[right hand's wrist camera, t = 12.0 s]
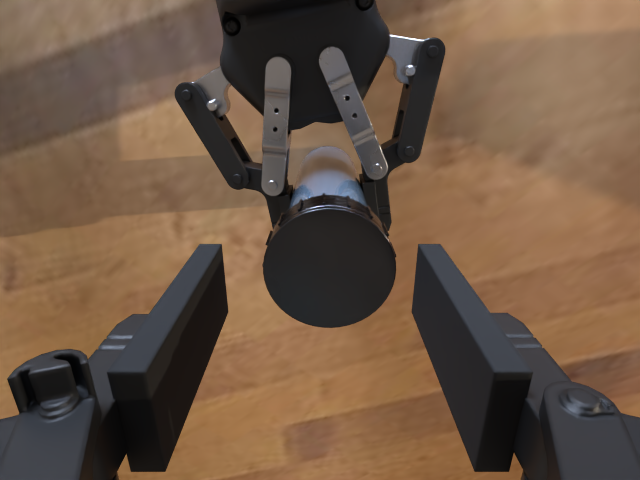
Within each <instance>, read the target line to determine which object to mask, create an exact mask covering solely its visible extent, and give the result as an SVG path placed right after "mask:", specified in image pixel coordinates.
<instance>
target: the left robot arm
mask: <svg viewBox="0 0 640 480" xmlns="http://www.w3.org/2000/svg"><path fill="white" fill-rule="evenodd" d="M216 3H217V7H218V12H219V16H220V21H221V25H222V29H223V48H222V52H221V56H220V67H218V68H216V69H215V70H213V71H211V72H210V73H208V74H206V75H205V76H203V77H201V78H200V79H198V80H196V81H195V82H184V83H181V84H179V85H178V86H177V87H176V90H175V98H176V100H177V102H178V104H179V105H180V107H181V109H182V110H183V112H184V113H185V115H186V117H187V118H188V120H189V121H190V123H191V125H192V126H193V128H194V130H195V131H196V133H197V134H198V136H199V138H200V139H201V141H202V142H203V144H204V146H205V147H206V149H207V150H208V152H209V154H210V155H211V157H212V159H213V160H214V162H215V163H216V165H217V167H218V168H219V170H220V171H221V173H222V175H223V176H224V178H225V180H226V181H227V183H228V184H229V186H230V187H232V188H234V189H237V190H240V189H243V188H246V189H252V190H256V191H259V192H261V193H262V194H263V195H264V196H265V198H266V200H267V204H268V209H269V213H270V218H271V222H272V227H273V229H274V227H275V225H276V224H277V222H278V220H279V219H280V216H281V213H282V212H283V213H285V212H286V211H287V210H288V209H289V206H290V202H291V199H292V195H293V191H294V190H293V185H288V180H287V177H288V164H289V152H290V144H291V134H292V130H295V129H301V128H303V127H305V126H307V125H309V124H311V123H314V122H322V123H336V122H342V121H344V123H345V126H346V128H347V130H348V133H349V135H350V137H351V140H352V142H353V144H354V147H355V149H356V151H357V154H358V156H359V158H360V161H361V166H362V174H359V177H360V184H361V188H362V191H363V194H364V197H365V200H366V203H367V206H370V208H371V211H372V212H373V213H374V214H375V215H376V216H377V217H378V218H379V220H380V221H381V223H382V222H384V223H385V226H386V228H387V231H389V229H390V225H391V213H390V204H389V194H388V185H387V178H388V175H389V173H390V172H391V171H392V170H393V169H394V168H396V167H398V166H400V165H402V164H403V163H405V162H406V163H411V162H414V161H415V160H417V159H418V157H419V156H420V153H421V149H422V145H423V140H424V136H425V132H426V128H427V124H428V120H429V116H430V112H431V108H432V104H433V100H434V96H435V92H436V88H437V84H438V79H439V75H440V71H441V67H442V63H443V59H444V55H445V46H444V43H443V42H442V41H441V40H440V39H438V38H428V39H425V40H417V39H412V38H406V37H400V36H394V35H390V34H389V30H388V28H387V26H386V24H385V23H384V21H383V20H382V18H381V16H380V14H379V12H378V9H377V6H376V1H375V0H216ZM385 56H386V57H388V58H390V59H391V61H392V62H393V65H394V77H395V79H396V80H397V81H398V82H400V83H403V89H402V93H401V98H400V103H399V107H398V112H397V116H396V121H395V126H394V130H393V135H392V139H391V140H389V141H387V142H385V143H383V144H382V145H379V143H378V140H377V138H376V135H375V132H374V129H373V127H372V124H371V122H370V119H369V117H368V114H367V112H366V109H365V107H364V104H363V102H362V101H363V99H364V97H365V95H366V93H367V91H368V89H369V87H370V85H371V83H372V82H373V80H374V78H375V76H376V74H377V72H378V70H379V68H380V66H381V64H382V62H383V60H384V58H385ZM231 85H232V86H233V87H234V88H235V89H236V90H237V91H238V92H239V93H240V94H241V95H242V96H243V97H244V98H245V99H246V100H247V101H248V102H249V103H250V104H251V105H252V106H253V107H255V108H256V109H257V110H258V111H259V112H260V113H261V114H262V115H263V116H264V122H263V141H262V151H263V164H260V163H254V162H253V161H252V159H251V158H250V156H249V154H248V153H247V151H246V149H245V147H244V146H243V144H242V142H241V141H240V139H239V137H238V136H237V134H236V132H235V130H234V129H233V127H232V125H231V124H230V122H229V120H228V118H227V117H226V115H225V114H227V113H228V112H229V110H230V106H231V104H230V100H229V98H228V89H229V87H230V86H231Z"/></svg>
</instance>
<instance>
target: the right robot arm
mask: <svg viewBox="0 0 640 480" xmlns="http://www.w3.org/2000/svg"><path fill="white" fill-rule="evenodd" d="M227 314H228V304H227V294H226V284H225V274H224V263H223V253H222V244H200V245H199V246H198V247H197V249H196V250H195V251H194V253H193V254H192V256H191V257H190V258H189V260H188V261H187V262H186V264H185V265H184V267H183V268H182V269H181V271H180V272H179V273H178V275H177V276H176V278H175V279H174V280H173V282H172V283H171V284H170V286H169V287H168V288H167V290H166V291H165V293H164V294H163V295H162V297H161V298H160V299H159V301H158V302H157V304H156V305H155V306H154V308H153V309H152V310H151V312H150V313H149V314H132V315H131V316H129V317H128V318H126V319H125V320H123V321H122V322H120V323H119V324H117V325H116V326H115V328H114V329H113V330H112V331H111V332H110V334H109V335H108V336H107V339H105V340H104V341H103V342H102V343H101V345H100V346H99V348H98V350H96V351H95V352H94V353H93V354H92V355H91V357H90V358H89V359H87V356H86V355H85V354H84V353H83V352H81V351H78V350H73V349H65V350H55V351H52V352H48V353H45V354H41V355H39V356H37V357H35V358H33V359H30V360H28V361H26V362H25V363H23V364H22V365H21V366H19V367H18V368H16V369H15V370H14V371H13V372H12V374H11V375H10V376H9V377H8V378H7V380H8V383H9V385H10V388H11V391H12V394H13V396H14V399H15V402H16V405H17V408H18V410H19V415H17V416H13V417H9V418H4V419H0V480H119V477H118V473H117V471H118V469H119V467H120V465H121V463H122V461H123V459H124V457H125V455H126V453H127V457H128V461H129V466H130V470H131V472H165V471H166V469H167V466H168V464H169V461H170V459H171V456H172V453H173V451H174V448H175V446H176V443H177V441H178V438H179V436H180V433H181V431H182V428H183V426H184V423H185V420H186V418H187V415H188V413H189V410H190V408H191V405H192V403H193V400H194V398H195V395H196V393H197V390H198V387H199V385H200V382H201V380H202V377H203V375H204V372H205V370H206V367H207V365H208V362H209V360H210V357H211V354H212V352H213V349H214V347H215V344H216V342H217V339H218V337H219V334H220V332H221V329H222V327H223V324H224V321H225V319H226V316H227ZM412 314H413V316H414V319H415V321H416V324H417V327H418V329H419V332H420V334H421V337H422V339H423V342H424V344H425V347H426V349H427V352H428V354H429V357H430V360H431V362H432V365H433V367H434V370H435V372H436V375H437V377H438V380H439V382H440V385H441V387H442V390H443V393H444V395H445V398H446V400H447V403H448V405H449V408H450V410H451V413H452V415H453V418H454V420H455V423H456V426H457V428H458V431H459V433H460V436H461V438H462V441H463V443H464V446H465V448H466V451H467V453H468V456H469V459H470V461H471V464H472V466H473V469H474V471H475V472H509V470H510V466H511V461H512V457H513V453H515V455H516V457H517V459H518V461H519V463H520V465H521V467H522V468H523V473H522V477H521V480H640V418H639V417H635V416H630V415H626V414H623V413H620V411H619V410H618V408H617V407H616V406H615V404H614V403H613V402H612V401H611V400H609V399H608V398H607V397H606V396H605V395H603V394H602V393H600V392H598V391H596V390H594V389H592V388H590V387H589V386H585V385H582V384H579V383H576V382H572V381H571V380H570V379H569V378H568V376H567V375H566V374H565V373H564V372H563V370H562V369H561V368H560V367H559V366H558V364H557V363H556V362H555V361H554V360H553V358H552V357H551V356H550V355H549V354H548V352H547V351H546V350H545V349H544V348H542V345H541V344H540V343H539V342H538V340H537V339H536V338H534V337H533V334H532V333H531V332H530V331H529V330H528V328H527V327H526V326H525V325H524V324H523V323H522V322H521V321H519V320H517V319H516V318H514V317H513V316H511V315H510V314H508V313H490V312H489V310H488V309H487V308H486V306H485V305H484V304H483V302H482V301H481V299H480V298H479V297H478V295H477V294H476V293H475V291H474V290H473V289H472V287H471V286H470V284H469V283H468V282H467V280H466V279H465V278H464V276H463V275H462V273H461V272H460V271H459V269H458V268H457V267H456V265H455V264H454V262H453V261H452V260H451V258H450V257H449V256H448V254H447V253H446V251H445V250H444V249H443V247H442V246H441V245H440V244H418V253H417V263H416V274H415V284H414V294H413V304H412Z"/></svg>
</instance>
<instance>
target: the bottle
mask: <svg viewBox="0 0 640 480" xmlns="http://www.w3.org/2000/svg"><path fill="white" fill-rule="evenodd" d="M322 193H325V195H338V196H344V197H346V195H348V196H349V197H350V198H351V199H353V200H356V201H358V202H360V203H362V204H363V205H365V206H366V207H367V203H366V200H365V197H364V194H363V191H362V188H361V184H360V181H359V178H358V175H357V172H356V169H355V166H354V163H353V161H352V159H351V158H350V157H349V155H348V154H347V153H345V152H344V151H343V150H341V149H339V148H336V147H331V146H324V147H319V148H317V149H314V150H313V151H311V152H310V153H309V154H308V155H307V156H306V157H305V158H304V160H303V161H302V164H301V166H300V170H299V173H298V177H297V181H296V184H295V188H294V191H293V195H292V199H291V202H290V206H289V209H290V208H291V207H292V206H294V205H295V204H297V203H299V200H300V199H302V200H305V199H308V198H311V197H315V196H320V195H322Z"/></svg>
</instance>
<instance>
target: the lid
mask: <svg viewBox="0 0 640 480" xmlns="http://www.w3.org/2000/svg"><path fill="white" fill-rule="evenodd" d="M388 236H389V233H388V231H387V228H386V226H385V223H384V222H382V223H381V221H380V220H379V218H378V217H377V216H376V215H375V214H374V213H373V212H372V211H371V208H370V206H367V207H366V206H365V205H363V204H362V203H360V202H358V201H356V200H353V199H351V198H350V197H349V196H348V195H346V197H344V196H338V195H325V193H322V195H320V196H315V197H311V198H308V199H305V200H302V199H300V200H299V203H297V204H295V205H294V206H292V207H291V208H290V209H288V210H287V211H286V212H285V213H283V212H282V213H281V216H280V219H279V220H278V222H277V224H276V225H275V227H274V229H273V231H270V234H269V236H268V239H267V242H266V245H268V246H267V249H266V252H265V256H264V262H263V274H264V280H265V284H266V287H267V289H268V291H269V293H270V295H271V297H272V298H273V300H274V301H275V303H276V304H277V305H278V306H279V307H280V308H281V309H282V310H283V311H284V312H285V313H286V314H288V315H289V316H291V317H292V318H294V319H296V320H298V321H300V322H303V323H305V324H308V325H312V326H316V327H324V328H334V327H342V326H347V325H351V324H354V323H356V322H359V321H361V320H363V319H365V318H366V317H368V316H370V315H371V314H372V313H374V312H375V311H376V310H377V309H378V308H379V307H380V306H381V305H382V304H383V303H384V301H385V300H386V299H387V297H388V295H389V293H390V292H391V289H392V287H393V284H394V280H395V275H396V260H395V257H396V254H395V251H394V249H393V246H392V244H391V242H390V241H389V238H388Z"/></svg>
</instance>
